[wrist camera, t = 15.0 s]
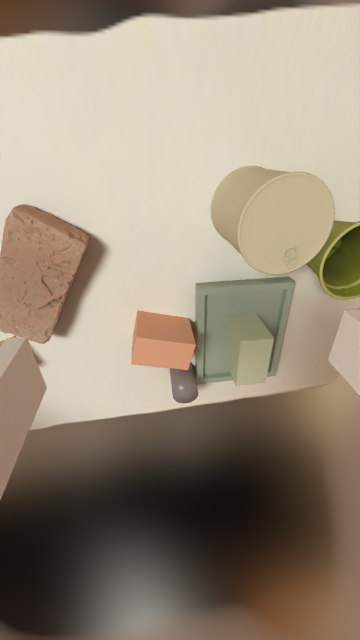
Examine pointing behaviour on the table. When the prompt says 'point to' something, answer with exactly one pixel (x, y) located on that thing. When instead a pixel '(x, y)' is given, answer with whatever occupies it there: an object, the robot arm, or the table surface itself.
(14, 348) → the robot arm
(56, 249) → the brick
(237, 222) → the can
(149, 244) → the table surface
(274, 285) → the tray
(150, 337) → the terracotta block
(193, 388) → the grey canister
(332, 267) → the plant pot
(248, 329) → the sage block
